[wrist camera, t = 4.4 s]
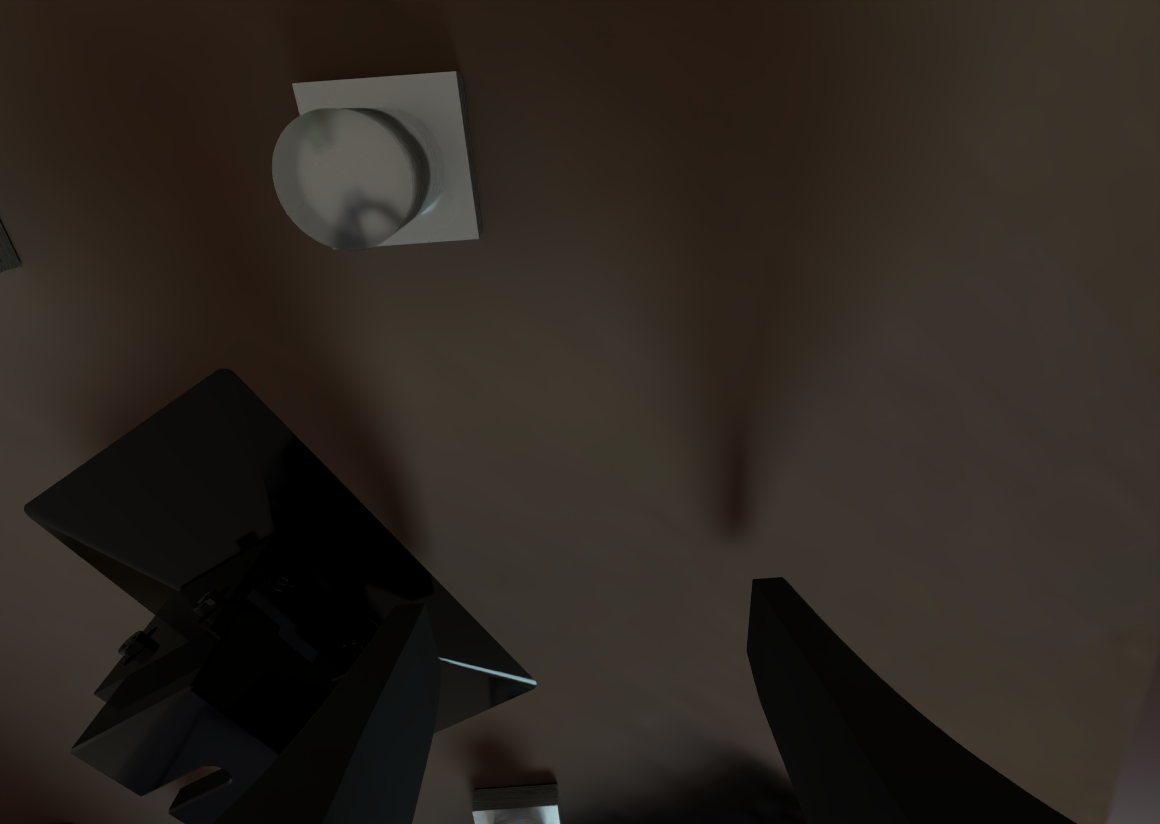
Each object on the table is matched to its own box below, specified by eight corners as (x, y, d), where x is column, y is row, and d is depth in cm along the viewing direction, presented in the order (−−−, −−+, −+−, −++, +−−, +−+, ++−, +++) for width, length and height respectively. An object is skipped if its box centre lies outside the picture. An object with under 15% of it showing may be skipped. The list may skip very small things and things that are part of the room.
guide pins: (563, 831, 19) (564, 953, 16) (226, 856, 19) (170, 983, 16) (461, 72, 9) (423, 60, 7) (-208, 122, 9) (-515, 129, 7)
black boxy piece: (-16, 470, 13) (-291, 639, 9) (232, 293, 11) (42, 396, 7) (366, 775, 18) (306, 977, 14) (577, 679, 16) (582, 874, 12)
